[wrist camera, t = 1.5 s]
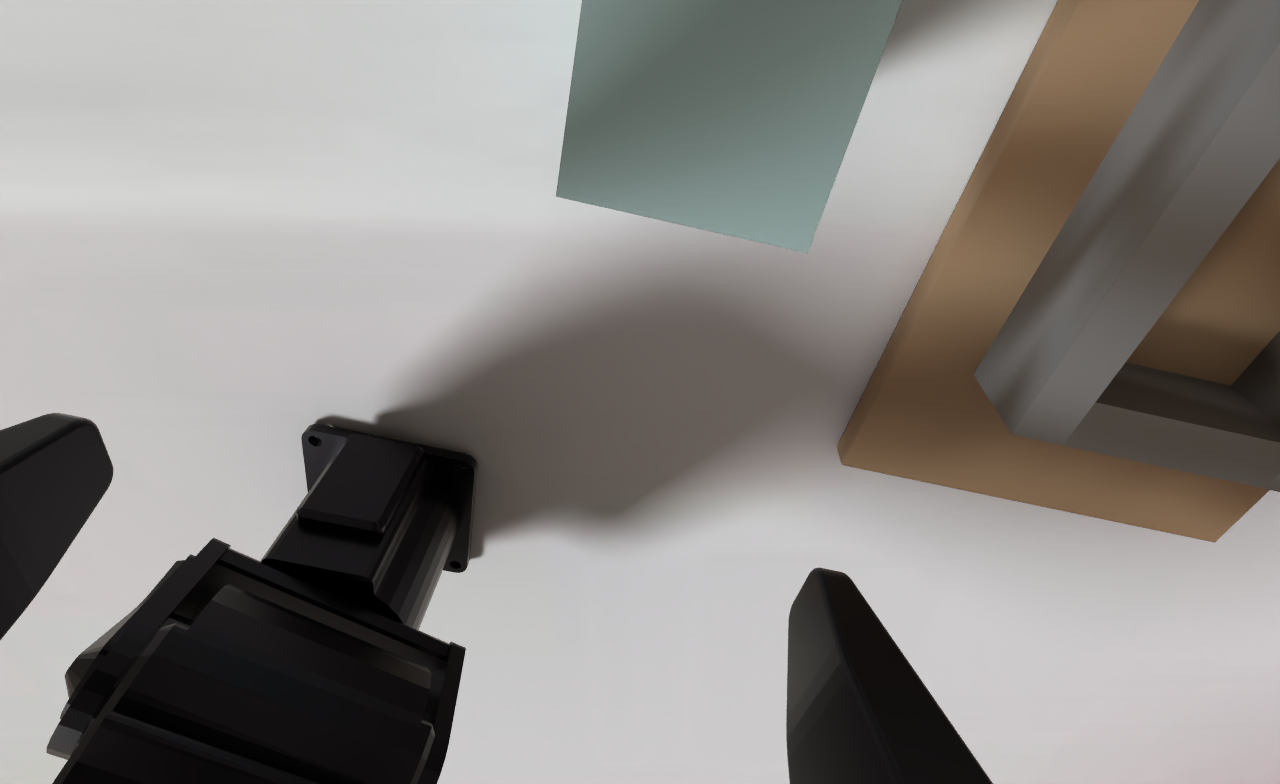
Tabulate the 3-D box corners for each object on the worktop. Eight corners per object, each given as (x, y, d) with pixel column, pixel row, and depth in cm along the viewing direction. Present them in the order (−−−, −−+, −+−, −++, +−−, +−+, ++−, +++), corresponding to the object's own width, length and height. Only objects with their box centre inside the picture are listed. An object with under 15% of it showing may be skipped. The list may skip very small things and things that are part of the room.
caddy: (1197, 522, 24) (1275, 612, 21) (836, 446, 24) (859, 528, 20) (1882, -165, 13) (2278, -199, 10) (1233, -355, 12) (1429, -461, 9)
